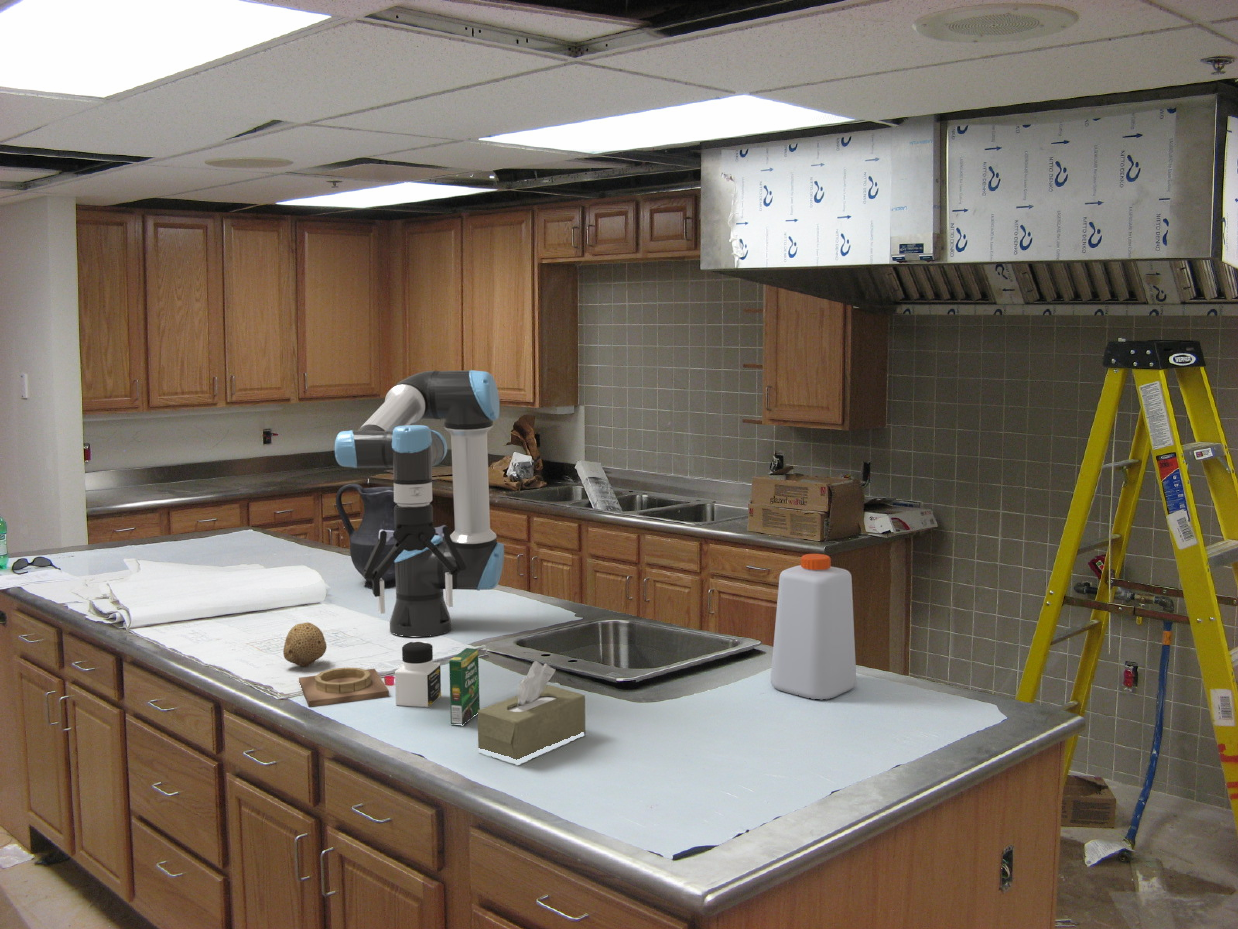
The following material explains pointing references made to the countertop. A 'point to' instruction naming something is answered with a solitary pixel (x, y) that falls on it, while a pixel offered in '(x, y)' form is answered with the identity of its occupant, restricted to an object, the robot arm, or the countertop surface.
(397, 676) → the medicine bottle
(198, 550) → the countertop surface
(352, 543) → the pitcher
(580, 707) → the tissue box
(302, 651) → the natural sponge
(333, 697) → the collar board
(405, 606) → the robot arm
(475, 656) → the coffee box
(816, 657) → the plastic bottle
